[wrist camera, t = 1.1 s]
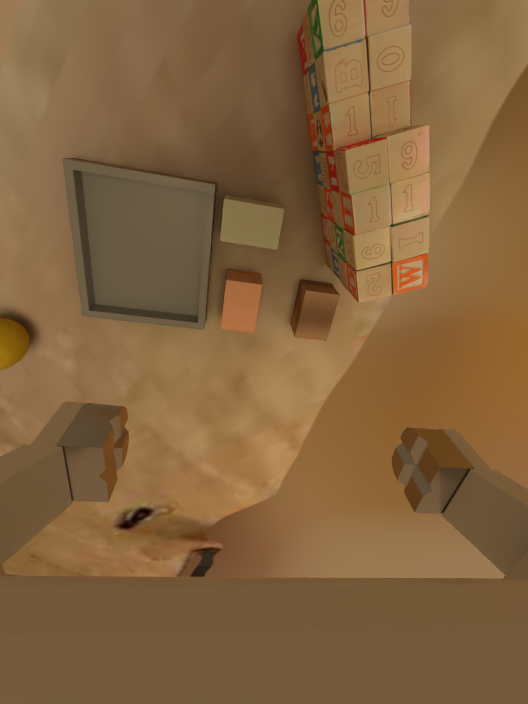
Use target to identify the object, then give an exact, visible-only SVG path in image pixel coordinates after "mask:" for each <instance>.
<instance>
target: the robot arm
mask: <svg viewBox="0 0 528 704" xmlns="http://www.w3.org/2000/svg"><path fill="white" fill-rule="evenodd" d="M127 420H128V414H127V408H126V407H123V406H112V405H102V404H91V403H87V404H86V403H77V402H65V403H63V404H62V405H61V406H60V407H59V409H58V410H57V411H56V413H55V414H54V415H53V416H52V418H51V419H50V420H49V422H48V423H47V424H46V426H45V427H44V428H43V430H42V431H41V432H40V433H39V435H38V436H37V437H36V439H35V440H34V441H33V443H32V444H31V445H22V446H20V447H18V448H17V449H15V450H13V451H11V452H9V453H7V454H5V455H3V456H1V457H0V704H528V489H526V488H525V487H523V486H522V485H520V484H518V483H517V482H515V481H513V480H512V479H510V478H508V477H506V476H505V475H503V474H502V473H500V472H499V471H495V470H492V469H491V468H490V467H489V466H488V465H487V464H486V463H485V462H484V460H483V459H482V458H481V457H480V456H479V455H478V453H477V452H476V451H475V450H474V449H473V448H472V446H471V445H470V444H469V443H468V442H467V441H466V439H465V438H464V437H463V436H462V435H461V434H460V433H459V432H457V431H456V430H453V429H426V428H411V427H407V428H406V429H405V430H404V431H403V433H402V435H401V440H402V442H403V443H402V444H400V445H399V446H398V447H396V448H395V451H394V453H393V456H392V467H393V471H394V474H395V476H396V478H397V480H399V481H400V482H401V483H402V484H404V485H405V490H404V493H405V495H406V497H407V499H408V501H409V503H410V504H411V506H412V508H413V510H414V512H420V513H434V514H443V515H442V516H443V517H444V518H445V519H446V520H447V521H448V522H450V523H451V524H452V525H453V526H454V527H455V528H456V529H457V530H458V531H459V532H460V533H461V534H462V535H463V536H465V538H467V539H468V540H469V541H470V542H471V543H472V544H473V545H474V546H475V547H476V548H477V549H478V550H479V551H480V552H481V553H482V554H483V555H485V556H486V557H487V558H488V559H489V560H490V561H491V562H492V563H493V564H494V565H495V566H496V567H497V568H498V569H499V570H501V571H502V572H503V573H504V574H505V575H506V576H505V577H504V578H503V579H471V578H465V579H464V578H276V577H275V578H273V577H272V578H271V577H268V578H267V577H106V576H6V574H5V571H4V568H3V566H2V564H3V563H5V562H6V561H7V560H8V559H9V558H10V557H11V556H13V555H14V554H15V553H16V552H17V551H18V550H19V549H21V548H22V547H23V546H24V545H25V544H26V543H27V542H29V541H30V540H31V539H32V538H33V537H34V536H35V535H37V534H38V533H39V532H40V531H41V530H42V529H43V528H45V527H46V526H47V525H48V524H49V523H50V522H51V521H53V520H54V519H55V518H56V517H57V516H58V515H60V514H61V513H62V512H63V511H64V510H65V509H66V508H68V507H69V506H70V505H71V504H72V501H98V502H109V499H110V497H111V494H112V492H113V489H114V487H115V484H116V482H117V470H118V469H119V468H121V467H122V466H123V464H124V461H125V458H126V454H127V450H128V443H129V431H128V430H127V429H126V428H125V424H126V422H127Z"/></svg>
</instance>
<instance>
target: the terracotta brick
mask: <svg viewBox="0 0 528 704" xmlns="http://www.w3.org/2000/svg"><path fill="white" fill-rule="evenodd" d="M261 290H262V280H261V275H260V274H255V273H248V272H241V271H235V270H228V269H227V276H226V285H225V294H224V302H223V311H222V320H221V329H227V330H235V331H243V332H252V333H254V331H255V325H256V319H257V314H258V308H259V302H260V296H261Z"/></svg>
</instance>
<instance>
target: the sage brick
mask: <svg viewBox="0 0 528 704" xmlns="http://www.w3.org/2000/svg"><path fill="white" fill-rule="evenodd" d="M284 210H285V209H284V208H283V207H282V206H281V204H276V203H270V202H264V201H259V200H253V199H247V198H242V197H236V196H230V195H225V197H224V204H223V214H222V224H221V235H220V241H223V242H230V243H236V244H243V245H249V246H255V247H262V248H268V249H275V250H277V248H278V243H279V237H280V232H281V226H282V221H283V215H284Z"/></svg>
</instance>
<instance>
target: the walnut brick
mask: <svg viewBox="0 0 528 704" xmlns="http://www.w3.org/2000/svg"><path fill="white" fill-rule="evenodd" d="M339 296H340V295H339V293H338V292H337V291H336V289H335V288H334V287H333V285H332V284H328V283H321V282H314V281H307V280H300V284H299V289H298V293H297V297H296V302H295V306H294V310H293V315H292V319H291V326H292V330H293V333H294V336H295V337H298V338H307V339H315V340H323V341H326V340H327V337H328V333H329V330H330V327H331V323H332V320H333V317H334V313H335V310H336V306H337V303H338V300H339Z"/></svg>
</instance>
